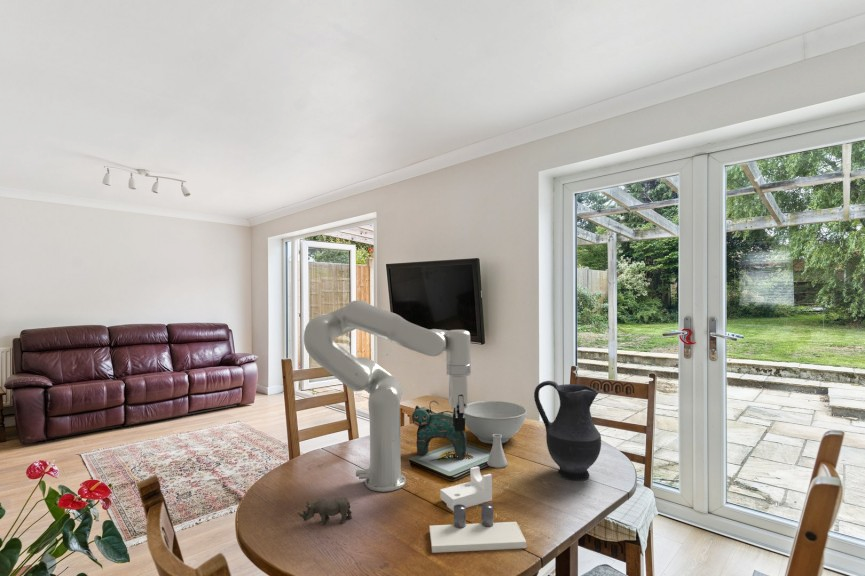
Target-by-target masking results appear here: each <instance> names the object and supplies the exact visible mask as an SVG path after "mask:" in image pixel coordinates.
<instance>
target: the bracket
mask: <svg viewBox="0 0 865 576" xmlns="http://www.w3.org/2000/svg"><path fill="white" fill-rule="evenodd" d="M469 472H470V481H468V482H463V483H459V484H455V485H452V486H447V487H444V488H440V489H439V491H440V493H439V495H440V496H439V497H440V500H442V502H444V503H445V504H446V507H447V508H449V509H450V511H452V512H453V513H454V506H455V505H457V504H461V505H464V506H465V507H466V508H470V507H475V506H477V505H480V504H481V505H482V504H484V503H487V502H492V501H493V474H491V473H486V474H483V475H482V473H481V470H480V466H477V465H476V466H474V467H470V471H469Z"/></svg>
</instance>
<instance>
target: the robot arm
mask: <svg viewBox="0 0 865 576" xmlns="http://www.w3.org/2000/svg"><path fill="white" fill-rule="evenodd" d="M354 330H359V331H362V332H365V333H368V334H370V335H374V336H376V337H379V338H381V339H384V340H387V341H390V342H391V343H393V344H397V345H398V346H401V347H403V348H406V349H408V350H411V351H412V352H413V351H414V352H416V353H419V354H423V355H424V356H429V357H439V356H440V355H441V354H443V353H444V352H445V353H446V359H445V361H446V376H449V377H448V405H449V406H450V407H451V409H452V410H453V411H452V412H453V413H454V414H453V413H452V415H453V426H454V427H455V431H465V432H466V425H465V408H467V404H468V397H469V395H468V393H469V392H468V376H470V375H471V370H472V369H471V367H472V366H471V362H472V361H471V333H470V331H468V330H466V329H450V330H446V329H440V328H439V329H437V328H432V329H431V328H430V329H428V328H425V327H422V326H420V325H418V324H415V323H412V322H410V321H408V320H406V319H405V318H404V317H402V316H401V315H399V314H397V313H394V312H392V311H389V310H387V309H383V308H380V307H377V306H375V305H372V304H370V303H369V302H367V301H365V300H362V299H360V300H359V299H357V300H352V301H350V302H348V303H347V304H346V305H345V306H343V307H341V308H338V309H336V310H334V311H331V312H329V313H326V314H322V315H317V316H314V317H313V318H311V319H310V320H309V321H308V322H307V324H306V326H305V328H304V330H303V342H304V343H303V344H304V348H305V350H306V351H307V354H308V355H309V356H310V358H311V359H312V360H313V361H314V362H316V364H318V365H320V367H322V368H323V369H325V370H326V371H327V372H328V373H329V374H331V375H332V376H333V377H334V378H336V379H337V380H338V381H340V382H341V383H342V384H343V385H345V386H346V388H348V389H350V390H351V391H354V392H362V391H365V392H367V393H368V402H367V403H368V417H369V460H370V461H369V463H370V464H369V468H366V469H356V470H355V477H358V479H359V480H363V479H365V480H364V482H365V483H364V485H365V487H366V488H368V489H369V490H372V491H375V492H383V493H384V492H393V491H396V490H398V489H401V488H403V487H404V486H405V485H406V483H407V482H406V481H407V479H406V476H405V475H404V474H403V473H402V471H401V469H402V467H401V466H402V465H401V461H402V460H401V459H402V458H401V457H402V456H401V454H402V451H401V446H402V445H401V444H402V443H401V442H402V441H401V439H402V438H401V399H402V395H403V387H402V384H401V382H400V381H399V380H398V379H397V378H396V377H395V376H394V375H393V374H391V373H390V372H389V371H387V370H386V369H385V368H384V367H382V366H381V365H380V364H378V363H377V362H375V361H374V360H372V359H370V358H368V357H365V356H364V357H363V356H359V357H356V356H355V355H353V354H352V353H350V352H349V351H348V350H347V349H345V348H344V347H343V346H341V345H340V344H337V343H336V342H335V340H334V339H336V338H338V337H340V336H342V335H345V334H348V333H350V332H352V331H354ZM464 407H465V408H464Z"/></svg>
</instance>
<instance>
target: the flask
mask: <svg viewBox="0 0 865 576" xmlns="http://www.w3.org/2000/svg"><path fill="white" fill-rule="evenodd" d="M492 436H493V444H492V447H491V450H490V453H489V455H488V458H487V462H486V463H487V466H488V467H491V468H506V467H507V466H508V464H509V463H508V460H507V458H506V455H505V452H504V449H503V443H501V437H502V435H500V434H493V435H492Z"/></svg>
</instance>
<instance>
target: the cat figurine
mask: <svg viewBox="0 0 865 576" xmlns="http://www.w3.org/2000/svg"><path fill="white" fill-rule="evenodd" d="M432 403H436V404H437V405H438V406H439V405H440V403H439V402H438V401H436V400H432V401H430V402H429V405H431V404H432ZM453 414H454V413H453V411H449V410H445V411H440V412H434V411H432V409H431V407H429V408H428V407H425V406H421V407H419V406H418V405H416V406H415V408H414V411H413V412H412V414H411V420H412V423H413V424H414V425H416V426H417V431H416V442H415V443H416V455H417V456H426V455H427V454H428V453H429V446H430V445H429V444H430V442H431V440H432V439H437V438H438V439H446V440H448V441H450V442H451V443H452V446H453V449H454V452H455V453H454V454H455V459H456V460H465V458H466V455H467V444H468V443H467V442H468V438H467V433H466V430H465V431H455V427H454V426H453ZM457 456H458V457H457Z"/></svg>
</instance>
